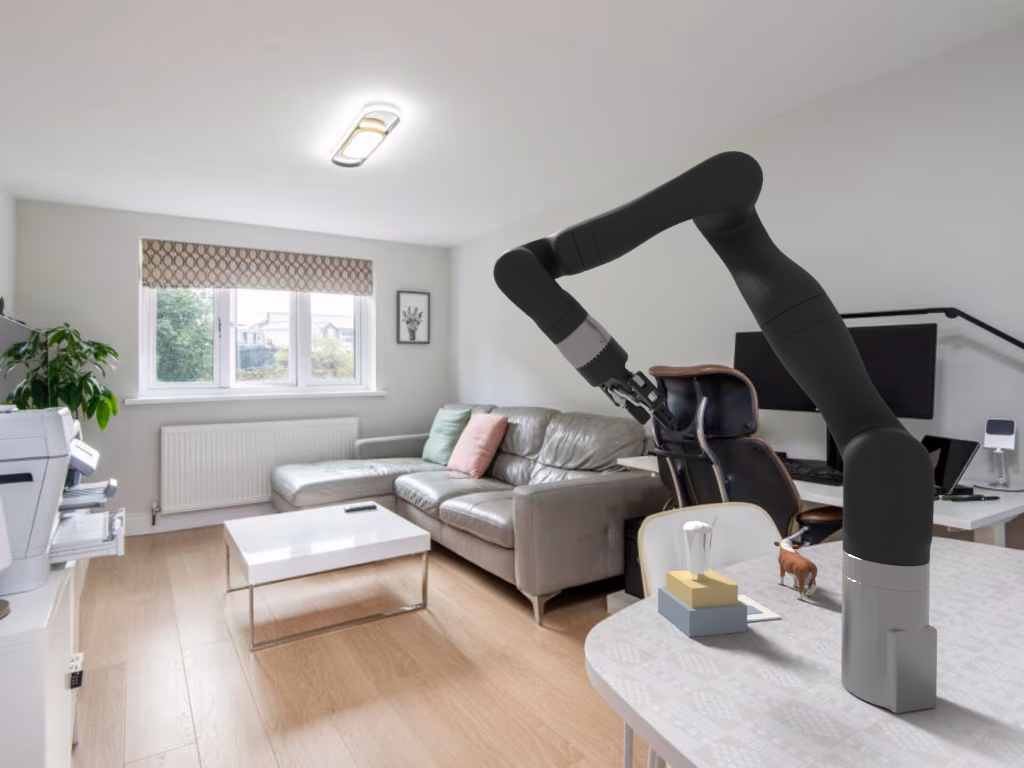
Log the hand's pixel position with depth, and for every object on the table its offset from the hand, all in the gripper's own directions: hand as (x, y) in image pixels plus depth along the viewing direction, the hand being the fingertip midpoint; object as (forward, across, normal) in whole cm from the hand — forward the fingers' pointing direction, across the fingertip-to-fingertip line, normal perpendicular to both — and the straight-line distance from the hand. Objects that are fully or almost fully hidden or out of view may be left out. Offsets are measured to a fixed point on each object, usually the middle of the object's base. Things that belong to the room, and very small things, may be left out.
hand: (658, 422), depth 91 cm
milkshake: (+23, 0, +13) cm, 27 cm away
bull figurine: (+46, +9, 0) cm, 47 cm away
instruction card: (+35, +3, +10) cm, 37 cm away
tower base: (+28, 0, +18) cm, 33 cm away
